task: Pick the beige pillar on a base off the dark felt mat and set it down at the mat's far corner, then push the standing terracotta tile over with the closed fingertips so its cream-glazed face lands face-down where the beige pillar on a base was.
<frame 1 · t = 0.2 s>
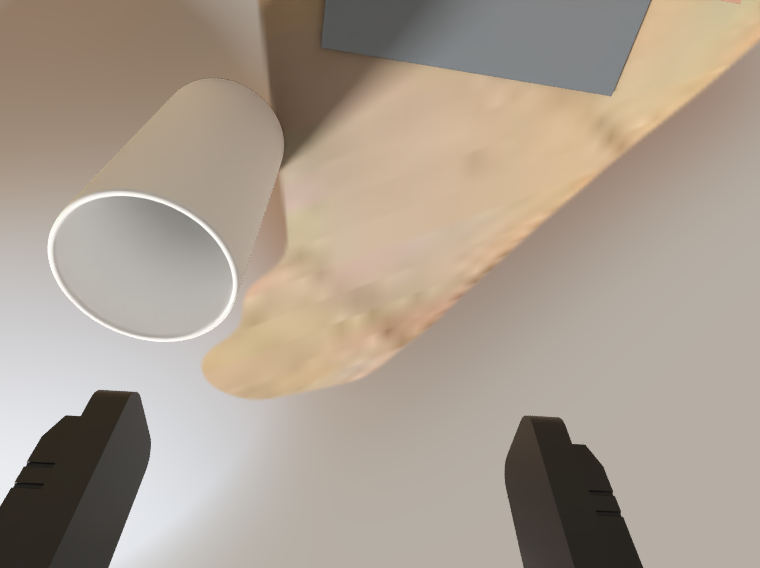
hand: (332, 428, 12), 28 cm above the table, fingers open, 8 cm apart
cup: (224, 138, 37), on the table
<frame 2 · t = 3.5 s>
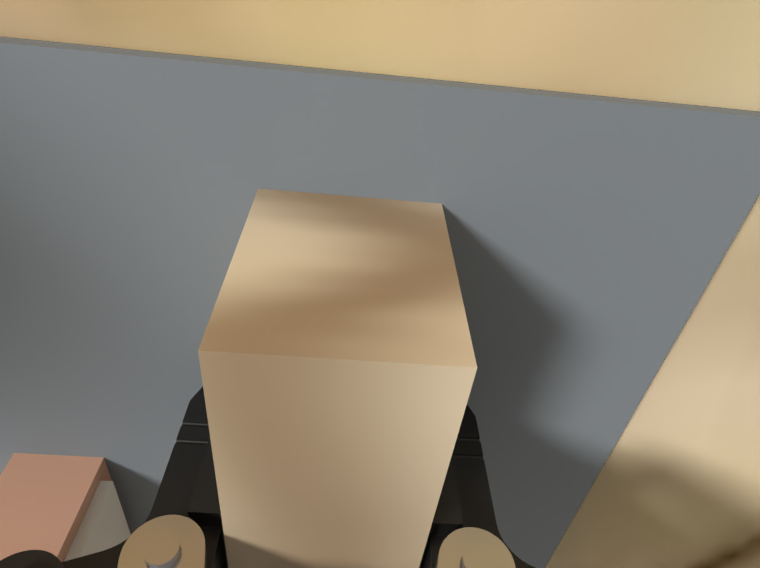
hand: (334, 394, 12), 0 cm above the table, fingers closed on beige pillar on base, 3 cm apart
mat: (180, 439, 14), on the table
beige pillar on base: (336, 391, 12), resting on mat, touching gripper
tile: (93, 537, 16), resting on mat
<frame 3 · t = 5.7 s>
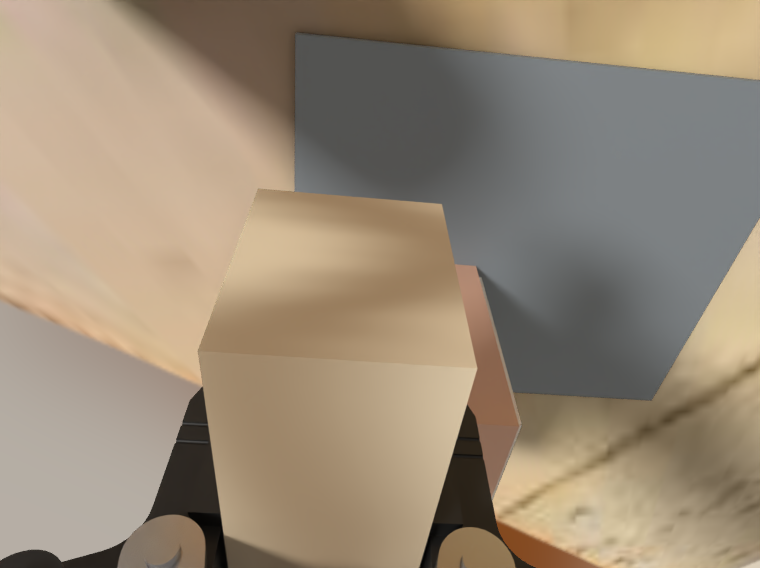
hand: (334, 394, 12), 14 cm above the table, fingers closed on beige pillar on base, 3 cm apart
mat: (514, 257, 27), on the table
beige pillar on base: (336, 391, 12), point 14 cm above the table, touching gripper
tile: (441, 324, 29), resting on mat
when the fingers open (1 cm above the table, at t = 8.2 s): beige pillar on base stays where it is, resting on mat.
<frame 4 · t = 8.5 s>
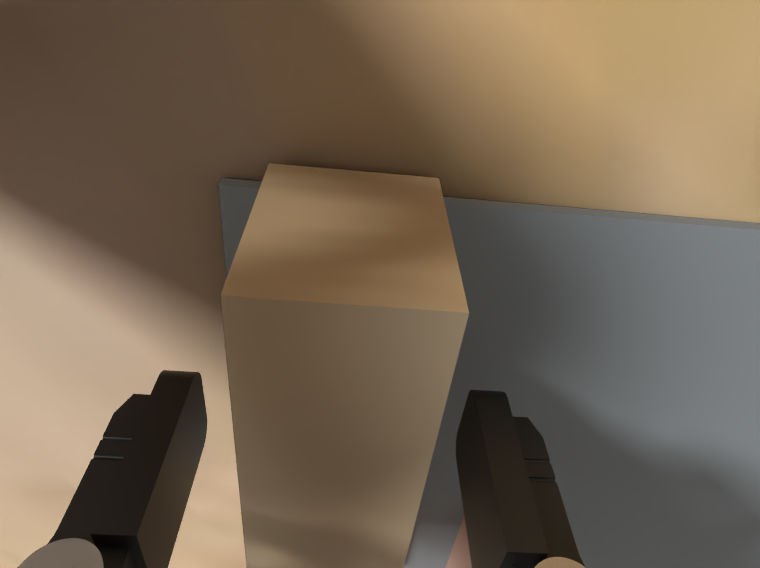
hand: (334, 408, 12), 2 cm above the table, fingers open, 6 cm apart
mat: (600, 485, 17), on the table
beige pillar on base: (340, 360, 13), resting on mat
tile: (478, 562, 19), resting on mat
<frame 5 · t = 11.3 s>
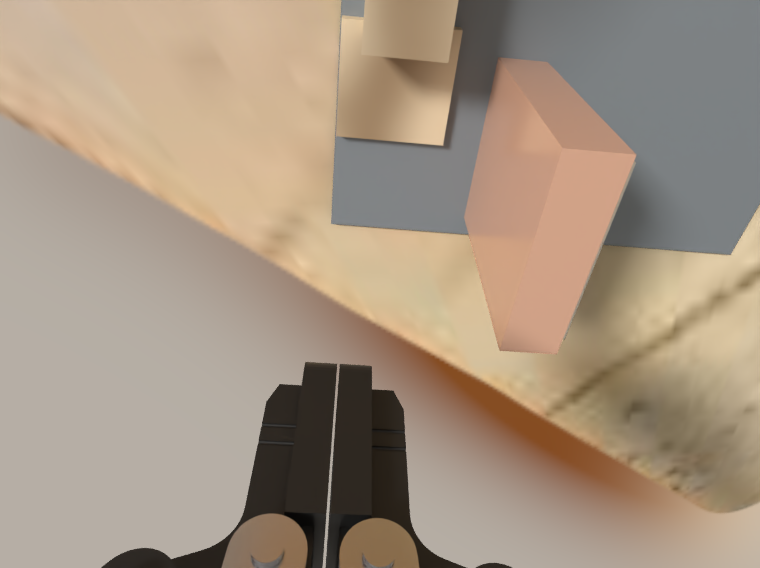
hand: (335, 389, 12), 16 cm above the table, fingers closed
mat: (591, 52, 24), on the table
tile: (502, 146, 26), resting on mat
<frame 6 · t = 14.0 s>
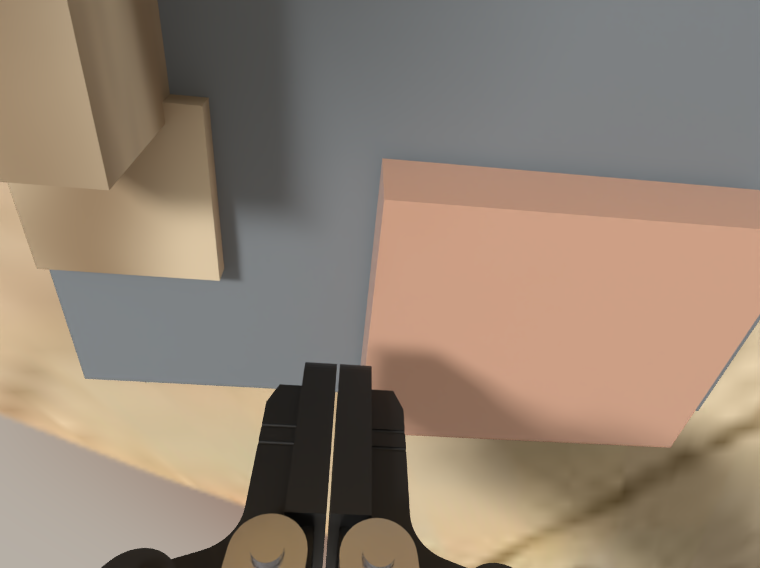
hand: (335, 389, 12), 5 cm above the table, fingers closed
mat: (448, 135, 14), on the table
tile: (368, 309, 15), point 2 cm above the table, tilted 90°, touching mat
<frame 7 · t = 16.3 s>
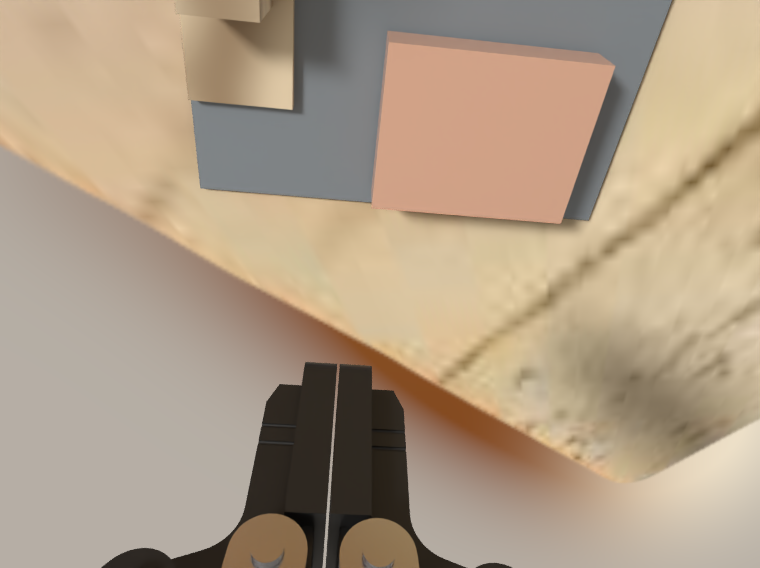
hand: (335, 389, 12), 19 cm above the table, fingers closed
mat: (424, 19, 25), on the table
tile: (379, 124, 26), point 2 cm above the table, tilted 90°, touching mat
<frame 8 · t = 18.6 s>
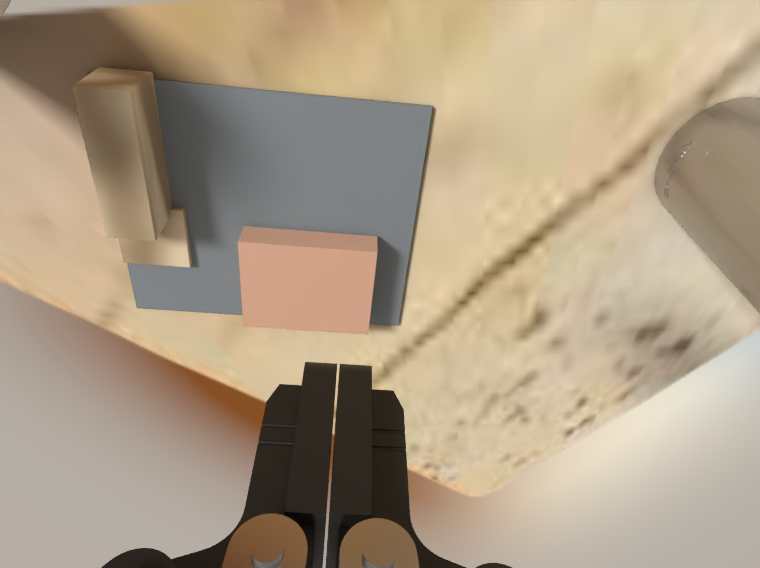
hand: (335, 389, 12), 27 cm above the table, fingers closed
mat: (267, 217, 40), on the table
beige pillar on base: (139, 145, 37), resting on mat
tile: (243, 277, 42), point 2 cm above the table, tilted 90°, touching mat
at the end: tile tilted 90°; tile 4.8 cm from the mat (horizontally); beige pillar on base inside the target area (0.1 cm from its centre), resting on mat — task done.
